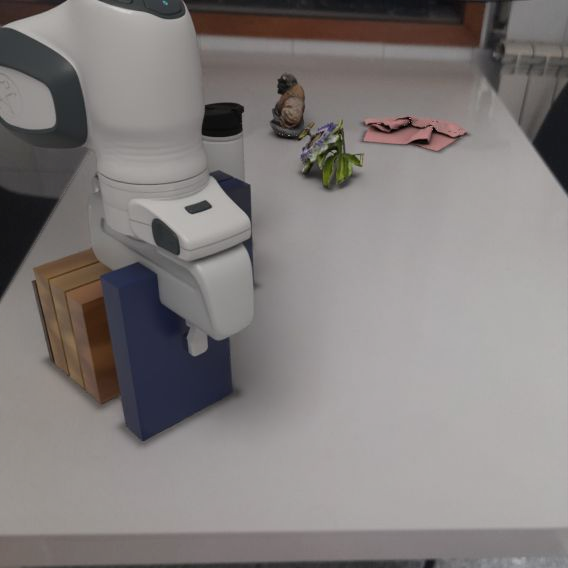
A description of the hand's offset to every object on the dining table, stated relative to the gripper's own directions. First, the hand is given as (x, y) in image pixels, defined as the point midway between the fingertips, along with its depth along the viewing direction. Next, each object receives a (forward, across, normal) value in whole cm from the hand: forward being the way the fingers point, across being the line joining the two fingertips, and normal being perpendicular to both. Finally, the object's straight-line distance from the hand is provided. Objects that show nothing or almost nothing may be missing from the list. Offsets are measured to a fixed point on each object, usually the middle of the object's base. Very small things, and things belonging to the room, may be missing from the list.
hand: (172, 334), depth 68 cm
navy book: (+9, 0, 0) cm, 9 cm away
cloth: (+9, -40, +85) cm, 95 cm away
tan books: (+9, -11, 0) cm, 15 cm away
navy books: (+9, -18, +16) cm, 26 cm away
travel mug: (+9, -26, +26) cm, 38 cm away
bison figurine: (+9, -56, +66) cm, 87 cm away
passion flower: (+9, -34, +56) cm, 66 cm away
